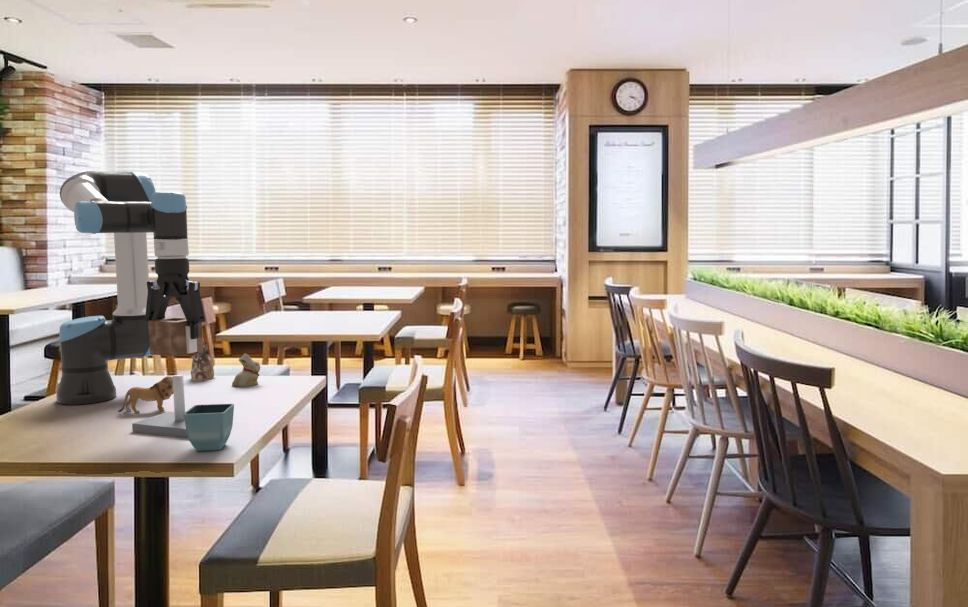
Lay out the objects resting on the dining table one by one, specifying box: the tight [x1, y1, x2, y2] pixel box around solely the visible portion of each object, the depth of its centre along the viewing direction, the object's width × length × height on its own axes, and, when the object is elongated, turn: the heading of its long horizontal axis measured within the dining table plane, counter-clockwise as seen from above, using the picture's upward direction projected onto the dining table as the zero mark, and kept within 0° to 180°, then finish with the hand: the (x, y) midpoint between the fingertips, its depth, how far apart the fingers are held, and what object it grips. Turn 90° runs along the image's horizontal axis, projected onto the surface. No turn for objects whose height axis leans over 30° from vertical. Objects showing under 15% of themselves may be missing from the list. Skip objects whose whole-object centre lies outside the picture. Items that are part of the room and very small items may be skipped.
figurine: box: [190, 340, 215, 381], centre depth 239 cm, size 7×7×12 cm
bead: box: [148, 316, 204, 357], centre depth 177 cm, size 8×8×8 cm
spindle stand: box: [131, 374, 188, 438], centre depth 179 cm, size 18×12×13 cm, turn 71°
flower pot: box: [183, 403, 235, 452], centre depth 163 cm, size 9×9×9 cm
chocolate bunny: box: [231, 353, 261, 387], centre depth 228 cm, size 6×8×10 cm
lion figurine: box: [117, 375, 174, 415], centre depth 196 cm, size 15×5×9 cm, turn 113°
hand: (176, 351), depth 178 cm, fingers closed on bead, 8 cm apart
